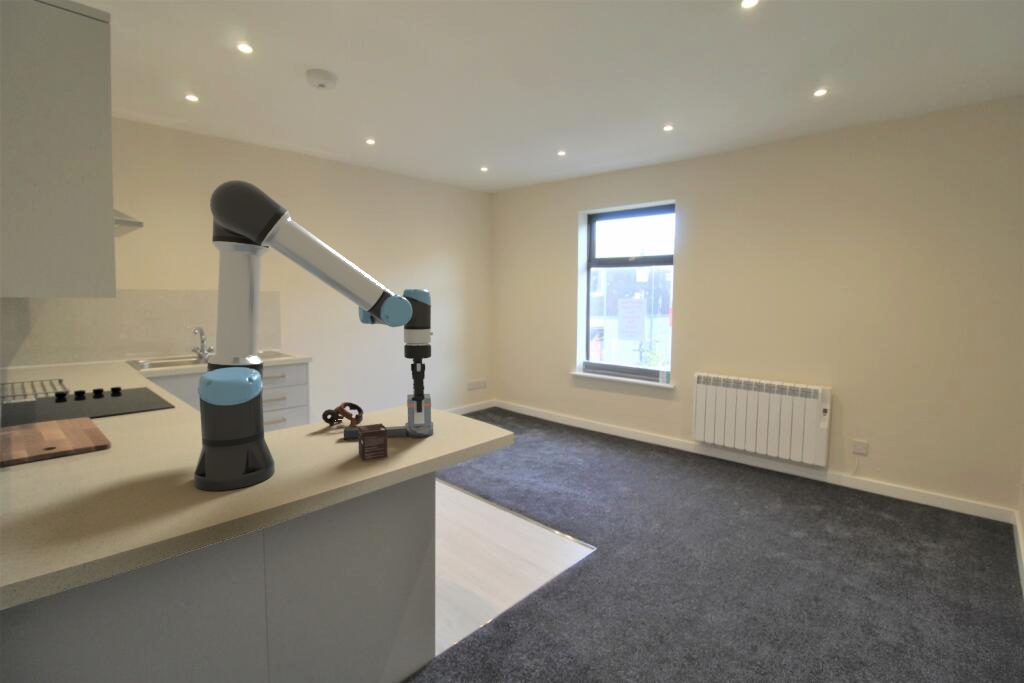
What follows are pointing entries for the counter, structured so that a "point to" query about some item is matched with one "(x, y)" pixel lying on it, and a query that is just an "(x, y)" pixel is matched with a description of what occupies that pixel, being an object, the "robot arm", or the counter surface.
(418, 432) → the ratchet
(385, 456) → the box
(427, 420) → the orange-striped grey cube
